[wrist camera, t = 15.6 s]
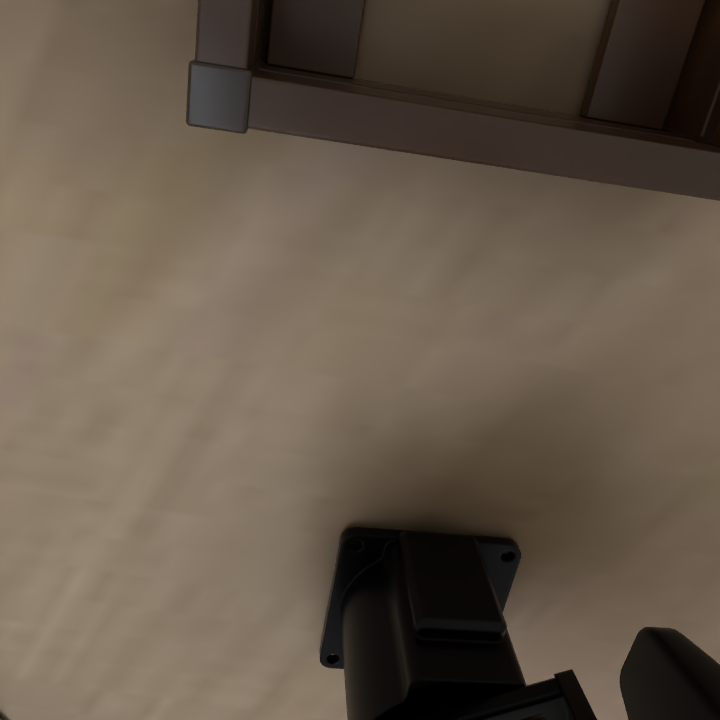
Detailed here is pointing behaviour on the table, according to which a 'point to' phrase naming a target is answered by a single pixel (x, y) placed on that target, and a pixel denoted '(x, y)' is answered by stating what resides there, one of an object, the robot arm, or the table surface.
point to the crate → (473, 116)
